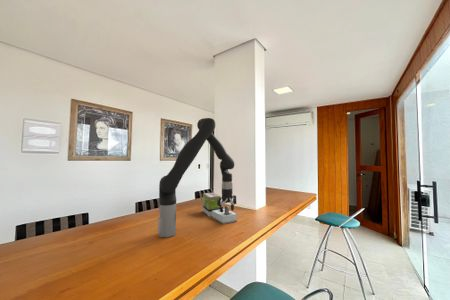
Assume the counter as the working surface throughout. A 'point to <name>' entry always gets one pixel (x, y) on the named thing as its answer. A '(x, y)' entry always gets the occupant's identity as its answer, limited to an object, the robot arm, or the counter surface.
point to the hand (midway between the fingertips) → (227, 211)
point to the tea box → (210, 203)
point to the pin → (226, 210)
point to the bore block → (224, 216)
